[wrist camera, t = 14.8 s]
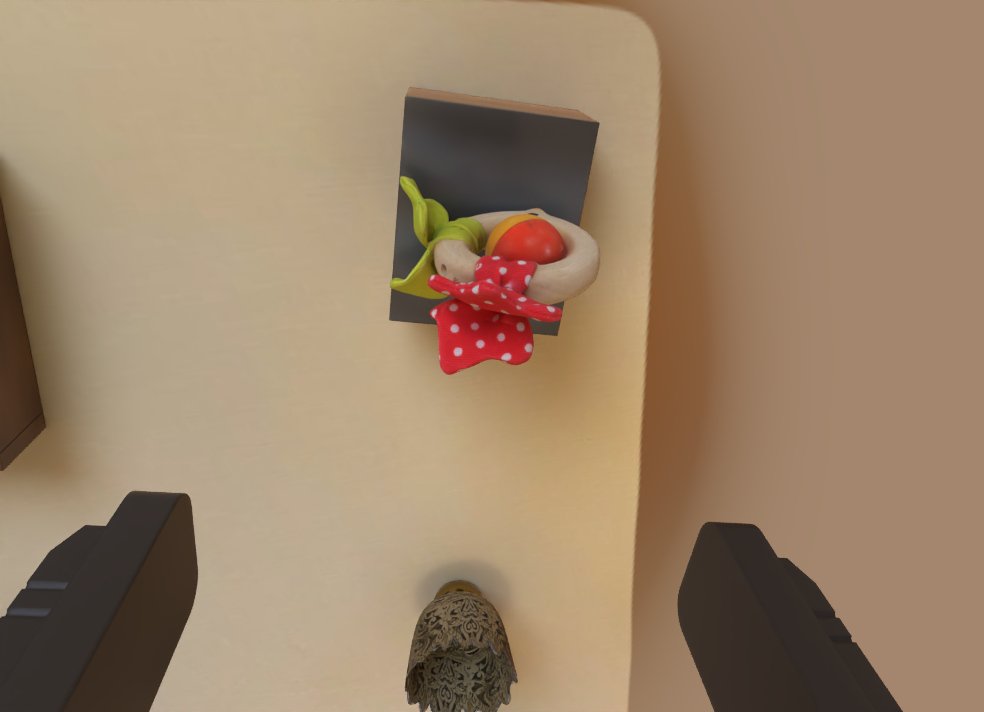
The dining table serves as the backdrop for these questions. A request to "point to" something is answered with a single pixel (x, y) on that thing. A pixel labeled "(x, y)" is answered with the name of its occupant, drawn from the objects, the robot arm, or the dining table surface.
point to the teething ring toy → (495, 277)
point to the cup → (460, 654)
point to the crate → (15, 366)
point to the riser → (486, 172)
